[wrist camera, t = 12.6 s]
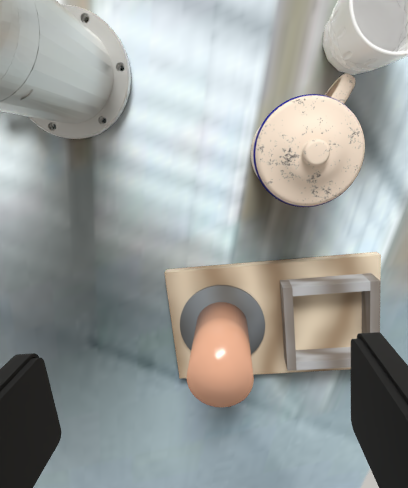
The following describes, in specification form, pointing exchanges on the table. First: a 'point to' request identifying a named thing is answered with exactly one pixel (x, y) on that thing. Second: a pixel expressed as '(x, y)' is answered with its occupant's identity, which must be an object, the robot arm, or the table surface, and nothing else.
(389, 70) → the table surface
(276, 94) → the table surface
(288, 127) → the teacup with lid
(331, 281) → the board
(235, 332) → the peach rounded peg
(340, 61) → the white cup
